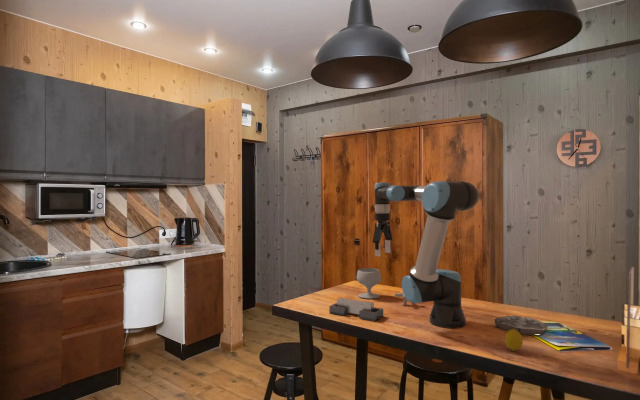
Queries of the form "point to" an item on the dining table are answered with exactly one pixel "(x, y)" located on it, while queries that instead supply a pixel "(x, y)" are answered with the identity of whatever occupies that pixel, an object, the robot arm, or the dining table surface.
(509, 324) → the mottled grey flat slab
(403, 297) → the pipe connector
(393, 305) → the dining table surface
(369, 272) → the chalice
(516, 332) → the lemon
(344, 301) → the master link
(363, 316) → the dark grey open boxes
